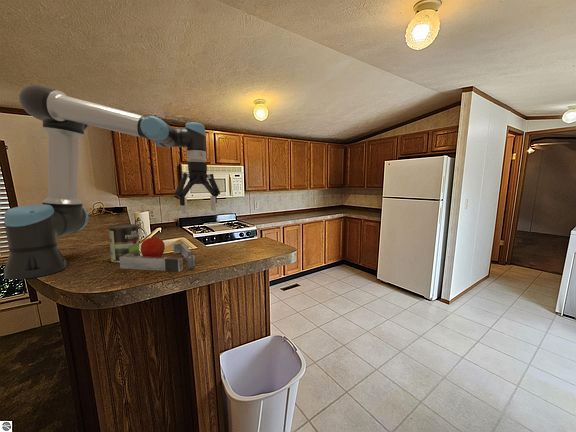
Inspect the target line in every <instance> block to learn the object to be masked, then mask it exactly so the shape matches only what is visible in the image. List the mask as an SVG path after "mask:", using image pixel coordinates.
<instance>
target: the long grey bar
mask: <svg viewBox="0 0 576 432" xmlns="http://www.w3.org/2000/svg"><path fill="white" fill-rule="evenodd" d="M183 265H184V264H183V257H174V256H173V257H171V256H168V257H167V256H166V257H163V256H161V257H147V256H142V255H140V256H134V254H126V255H123V256H121V257H120V262H119V268H120V269H124V270H143V271H159V272H176V273H177V272H178V273H180V272H182V271H183V270H184V269H183ZM194 269H195V265H194V257H193V256H192V255H190V256H187V260H186V270H187V271H194Z"/></svg>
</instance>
